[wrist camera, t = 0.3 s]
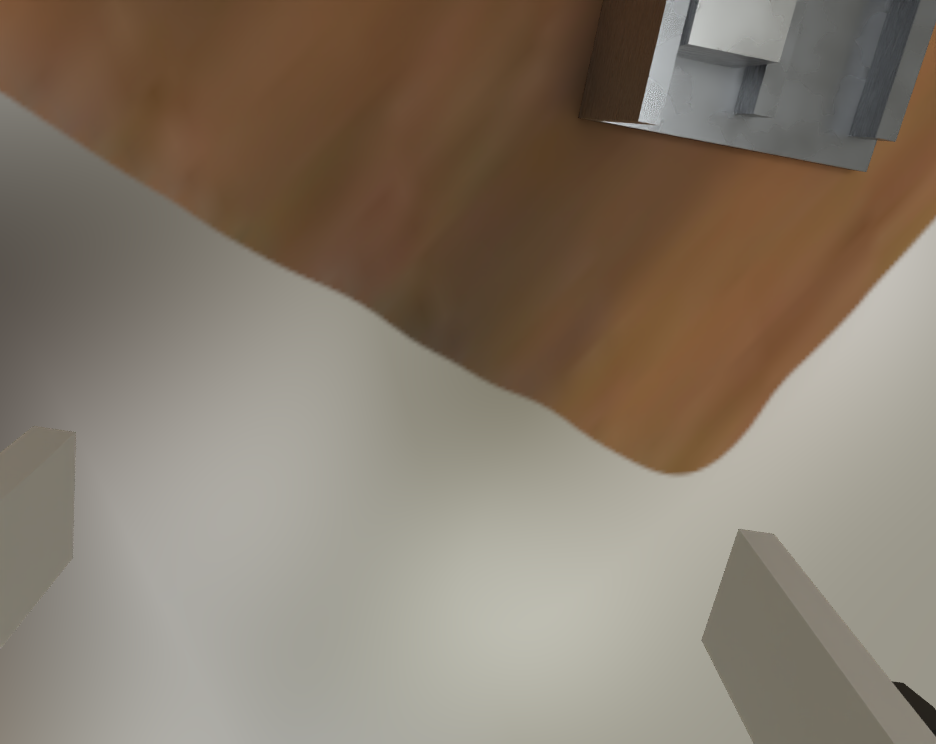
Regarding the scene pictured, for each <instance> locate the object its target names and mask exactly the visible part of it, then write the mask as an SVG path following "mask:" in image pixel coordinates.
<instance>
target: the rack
mask: <svg viewBox="0 0 936 744" xmlns="http://www.w3.org/2000/svg"><path fill="white" fill-rule="evenodd" d="M935 23H936V0H603V4H602V9H601V13H600V18H599V23H598V28H597V32H596V37H595V42H594V46H593V51H592V56H591V61H590V65H589V70H588V75H587V79H586V84H585V89H584V94H583V98H582V103H581V108H580V112H579V117H578V118H582V119H587V120H593V121H598V122H603V123H608V124H614V125H619V126H624V127H629V128H635V129H640V130H645V131H650V132H656V133H661V134H666V135H671V136H677V137H682V138H687V139H692V140H698V141H703V142H708V143H713V144H719V145H724V146H729V147H734V148H740V149H745V150H750V151H755V152H761V153H766V154H771V155H776V156H782V157H787V158H792V159H797V160H803V161H808V162H813V163H818V164H824V165H829V166H834V167H839V168H844V169H850V170H856V171H863V172H866V171H867V168H868V165H869V162H870V159H871V156H872V153H873V150H874V147H875V144H876V141H877V140H880V141H894V142H895V141H896V138H897V135H898V133H899V130H900V127H901V124H902V121H903V118H904V115H905V112H906V109H907V106H908V103H909V100H910V97H911V94H912V91H913V88H914V85H915V82H916V79H917V76H918V73H919V70H920V67H921V64H922V61H923V58H924V55H925V53H926V50H927V47H928V44H929V41H930V38H931V35H932V32H933V29H934V26H935Z"/></svg>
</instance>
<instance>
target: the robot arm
mask: <svg viewBox="0 0 936 744" xmlns="http://www.w3.org/2000/svg"><path fill="white" fill-rule="evenodd" d="M75 450H76V432H71V431H64V430H57V429H50V428H43V427H37V426H33V427H32V428H31V429H29V430H28V431H27V432H26V433H24V434H23V435H22V436H21V437H19V438H18V439H17V440H16V441H14V442H13V443H12V444H11V445H10V446H8V447H7V448H6V449H4V450H3V451H2V452H1V453H0V649H1V647H2V646H3V645H4V644H5V643H6V641H7V640H8V639H9V637H10V636H11V635H12V634H13V632H14V631H15V630H16V629H17V627H18V626H19V625H20V624H21V622H22V621H23V620H24V619H25V617H26V616H27V615H28V614H29V612H30V611H31V610H32V609H33V607H34V606H35V605H36V604H37V602H38V601H39V600H40V599H41V597H42V596H43V595H44V594H45V592H46V591H47V590H48V589H49V587H50V586H51V585H52V584H53V582H54V581H55V580H56V578H57V577H58V576H59V575H60V573H61V572H62V571H63V570H64V568H65V567H66V566H67V565H68V563H69V562H70V561H71V560H72V558H73V526H74V490H75ZM702 642H703V644H704V646H705V648H706V650H707V652H708V654H709V656H710V658H711V660H712V662H713V664H714V666H715V668H716V670H717V672H718V674H719V676H720V678H721V680H722V682H723V683H724V686H725V688H726V690H727V692H728V694H729V696H730V698H731V700H732V702H733V703H734V706H735V708H736V709H737V712H738V714H739V715H740V717H741V720H742V722H743V723H744V725H745V727H746V729H747V731H748V733H749V735H750V737H751V739H752V741H753V743H754V744H936V710H935V708H934V707H933V706H932V705H930V704H929V703H928V702H926V701H925V700H924V699H923V698H921V697H920V696H919V695H918V694H916V693H915V692H914V691H913V690H911V689H910V688H909V687H908V686H906V685H905V684H904V683H900V682H892V681H891V680H890V679H889V678H888V676H887V675H886V674H885V673H884V671H883V670H882V669H881V668H880V666H879V665H878V664H877V663H876V661H875V660H874V659H873V658H872V656H871V655H870V654H869V653H868V652H867V650H866V649H865V647H864V646H863V645H862V644H861V642H860V641H859V640H858V639H857V638H856V636H855V635H854V634H853V632H852V631H851V630H850V629H849V627H848V626H847V625H846V624H845V622H844V621H843V620H842V619H841V617H840V616H839V615H838V614H837V613H836V611H835V610H834V609H833V607H832V606H831V605H830V604H829V602H828V601H827V600H826V599H825V598H824V596H823V595H822V594H821V592H820V591H819V590H818V589H817V587H816V586H815V585H814V584H813V582H812V581H811V580H810V579H809V577H808V576H807V575H806V574H805V572H804V571H803V570H802V569H801V567H800V566H799V565H798V564H797V562H796V561H795V560H794V558H793V557H792V556H791V555H790V553H789V552H788V551H787V550H786V549H785V547H784V546H783V545H782V543H781V542H780V541H779V540H778V538H777V537H776V536H775V535H774V534H770V533H764V532H756V531H750V530H743V529H738V532H737V536H736V538H735V541H734V544H733V547H732V551H731V553H730V557H729V559H728V562H727V565H726V568H725V571H724V574H723V577H722V580H721V583H720V586H719V589H718V592H717V595H716V598H715V601H714V604H713V607H712V610H711V613H710V616H709V619H708V622H707V625H706V628H705V631H704V634H703V637H702Z"/></svg>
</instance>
